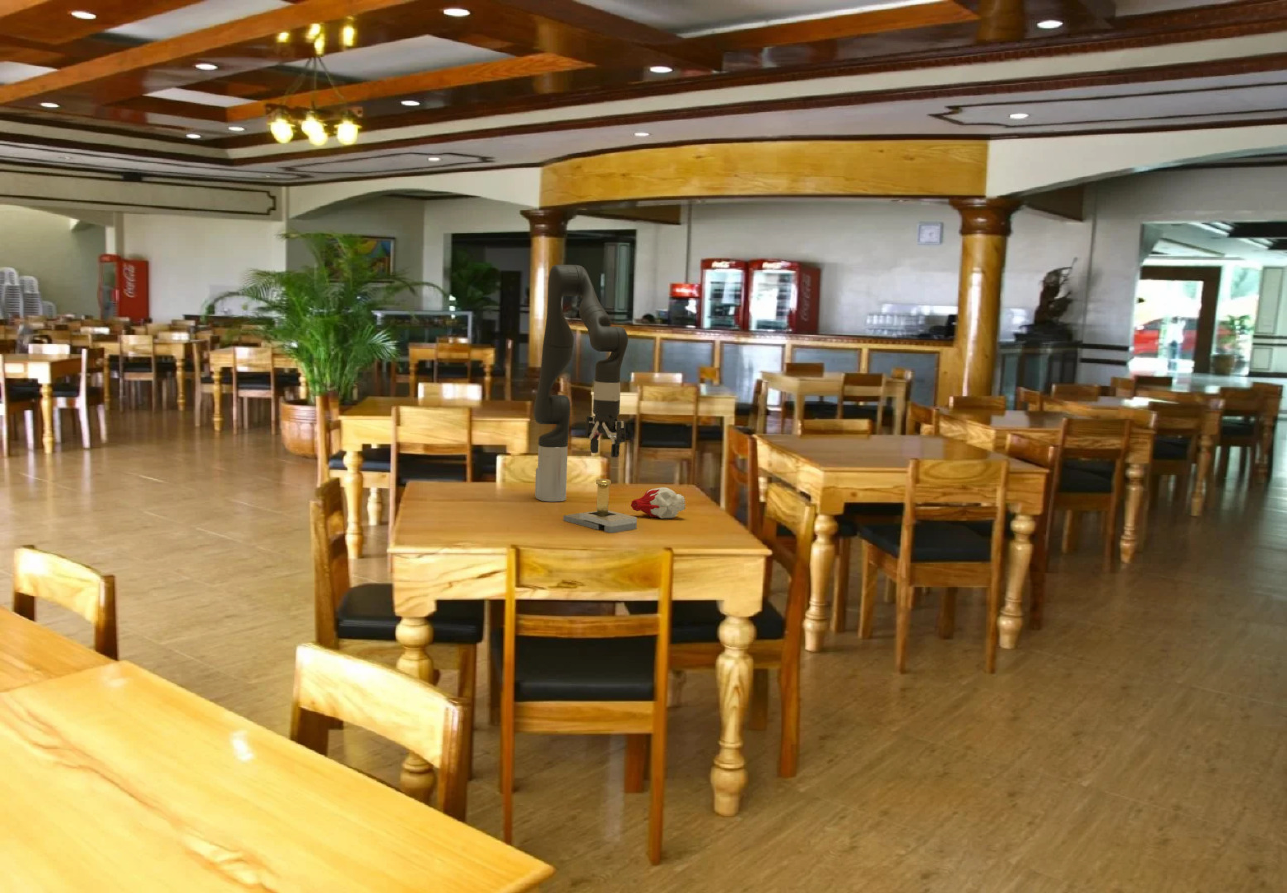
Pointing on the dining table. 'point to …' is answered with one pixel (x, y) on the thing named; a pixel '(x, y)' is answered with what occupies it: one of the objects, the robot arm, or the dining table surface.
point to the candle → (660, 503)
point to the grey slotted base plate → (603, 521)
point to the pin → (602, 497)
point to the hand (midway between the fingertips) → (604, 455)
